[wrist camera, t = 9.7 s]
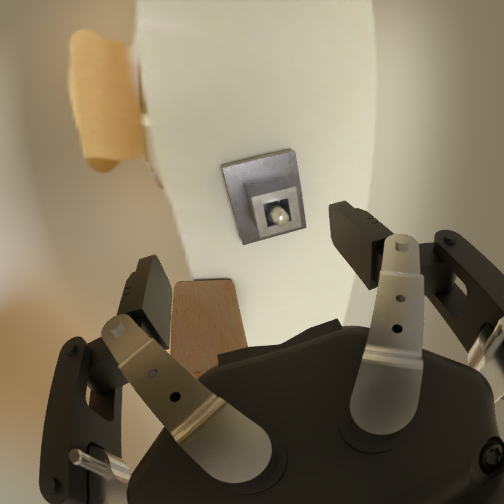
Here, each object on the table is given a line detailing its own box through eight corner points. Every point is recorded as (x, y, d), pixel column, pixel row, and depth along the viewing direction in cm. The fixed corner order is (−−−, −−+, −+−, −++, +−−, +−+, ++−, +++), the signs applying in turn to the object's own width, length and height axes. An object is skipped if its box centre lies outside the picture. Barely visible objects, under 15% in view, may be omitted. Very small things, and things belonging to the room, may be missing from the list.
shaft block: (221, 165, 36) (227, 182, 29) (290, 148, 37) (314, 161, 29) (240, 238, 43) (251, 271, 35) (301, 222, 43) (324, 250, 35)
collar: (244, 185, 36) (251, 197, 32) (284, 176, 37) (295, 186, 32) (252, 222, 39) (260, 237, 35) (290, 212, 40) (301, 226, 35)
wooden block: (174, 279, 44) (168, 381, 27) (233, 276, 46) (256, 376, 29) (179, 322, 49) (180, 417, 32) (232, 319, 51) (250, 412, 34)
